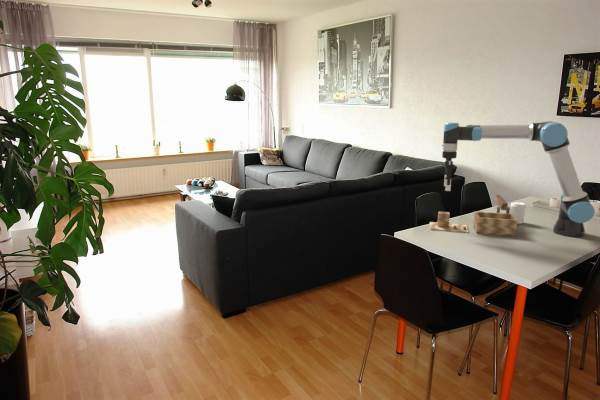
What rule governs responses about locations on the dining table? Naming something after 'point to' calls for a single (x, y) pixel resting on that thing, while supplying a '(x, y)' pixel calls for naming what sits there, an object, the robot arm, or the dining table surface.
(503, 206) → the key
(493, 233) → the wicker basket
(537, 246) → the dining table surface
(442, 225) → the lid
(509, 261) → the dining table surface
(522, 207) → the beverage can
